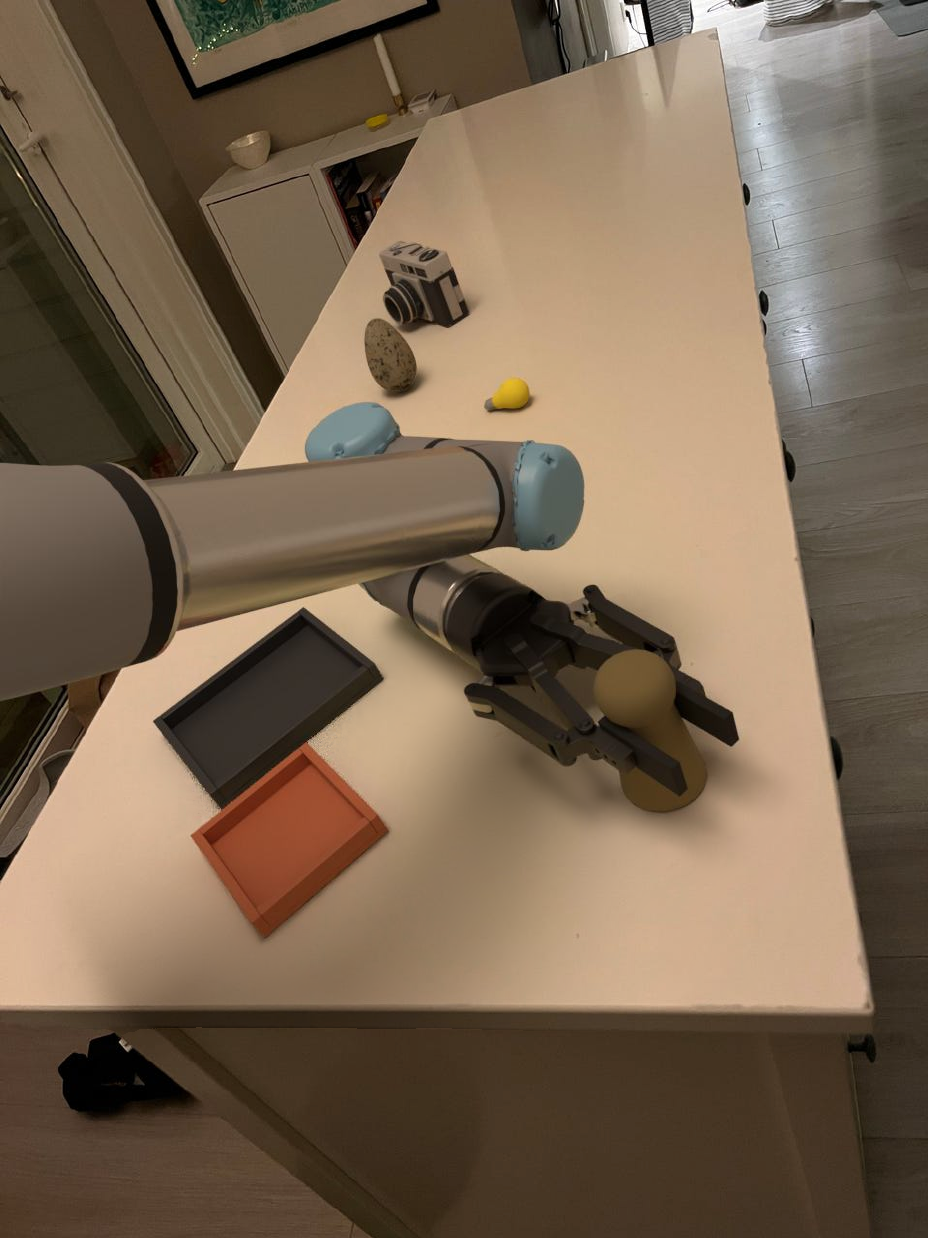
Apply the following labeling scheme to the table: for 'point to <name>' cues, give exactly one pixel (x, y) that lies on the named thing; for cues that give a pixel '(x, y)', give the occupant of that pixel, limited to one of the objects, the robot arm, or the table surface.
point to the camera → (421, 285)
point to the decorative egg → (389, 356)
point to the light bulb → (509, 395)
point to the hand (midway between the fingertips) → (705, 754)
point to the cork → (649, 724)
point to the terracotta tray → (287, 837)
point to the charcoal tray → (266, 704)
